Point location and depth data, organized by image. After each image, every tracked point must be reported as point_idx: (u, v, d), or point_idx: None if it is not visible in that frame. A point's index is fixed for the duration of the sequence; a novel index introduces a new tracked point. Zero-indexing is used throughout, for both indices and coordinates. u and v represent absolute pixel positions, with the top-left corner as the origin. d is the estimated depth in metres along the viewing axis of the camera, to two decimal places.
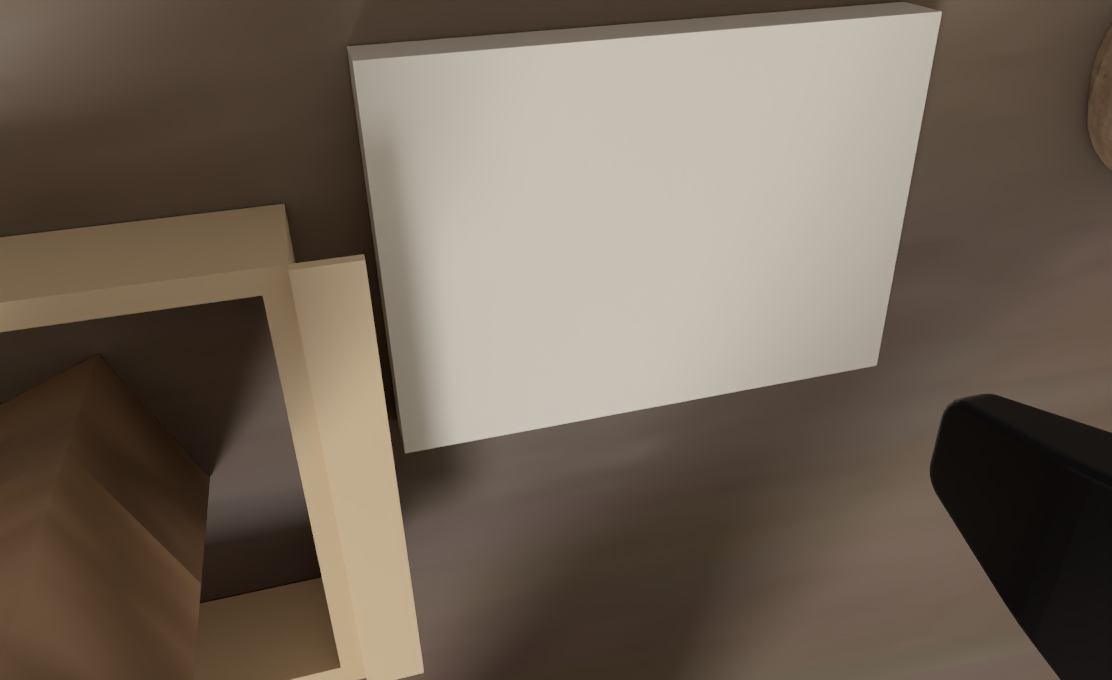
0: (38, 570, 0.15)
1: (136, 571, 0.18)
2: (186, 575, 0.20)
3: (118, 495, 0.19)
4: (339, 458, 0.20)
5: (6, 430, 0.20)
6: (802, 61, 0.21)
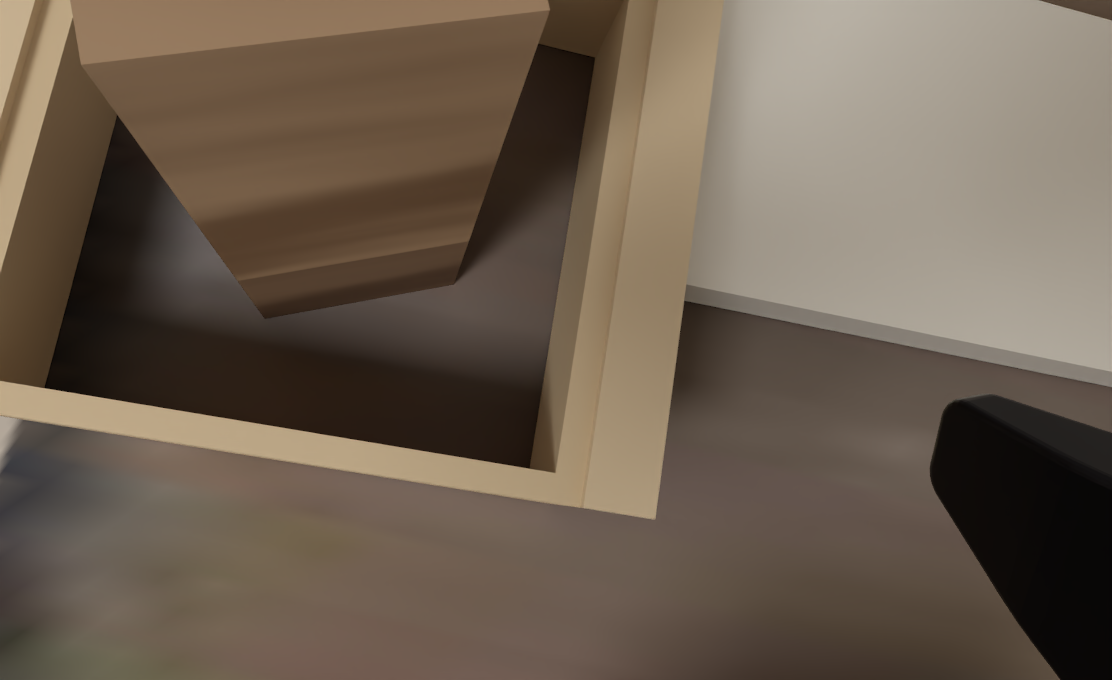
0: None
1: None
2: None
3: None
4: (649, 159, 0.19)
5: None
6: (1072, 38, 0.25)
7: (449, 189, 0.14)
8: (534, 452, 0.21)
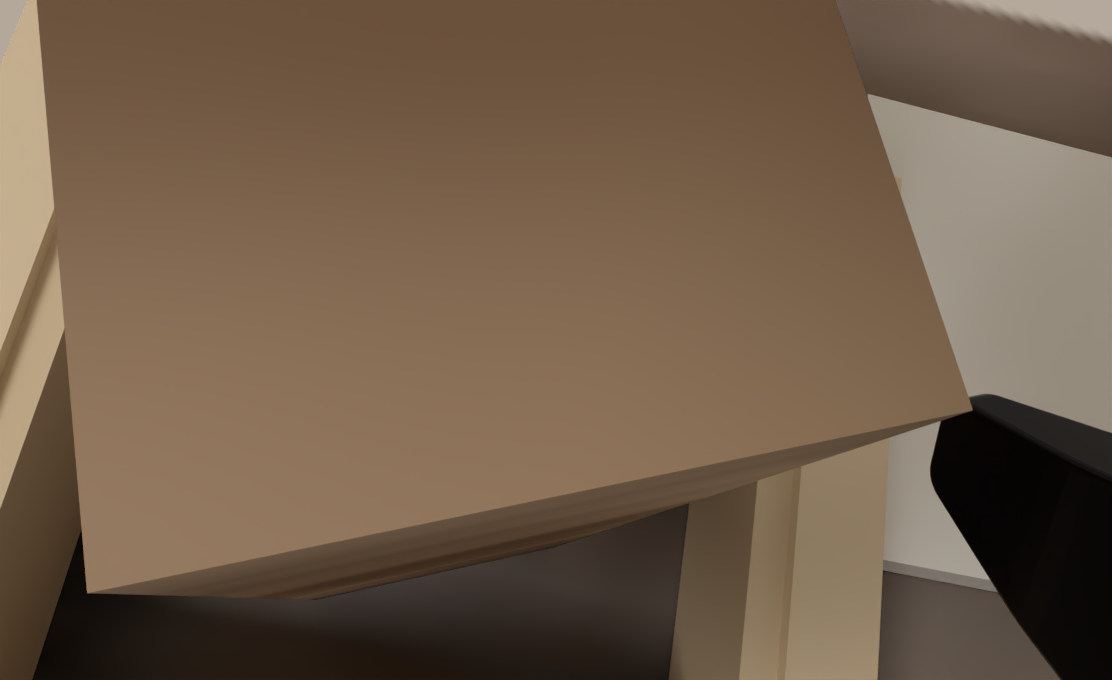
0: None
1: None
2: None
3: None
4: None
5: None
6: None
7: (617, 520, 0.10)
8: None
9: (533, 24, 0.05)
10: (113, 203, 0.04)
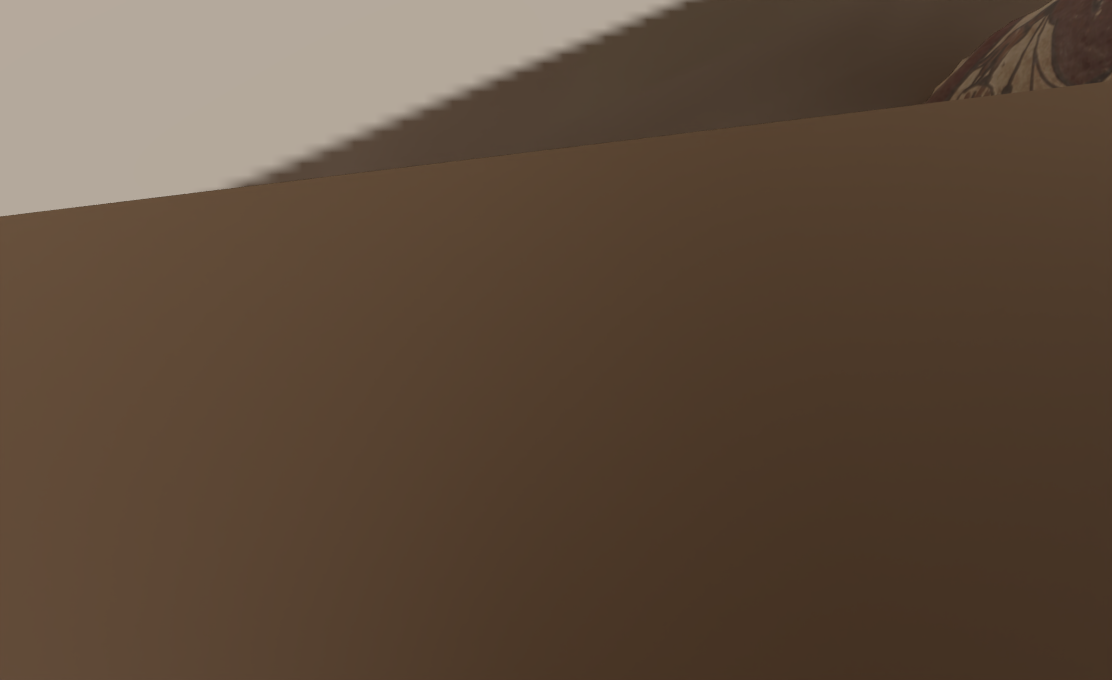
0: None
1: None
2: None
3: None
4: None
5: None
6: None
7: None
8: None
9: None
10: None
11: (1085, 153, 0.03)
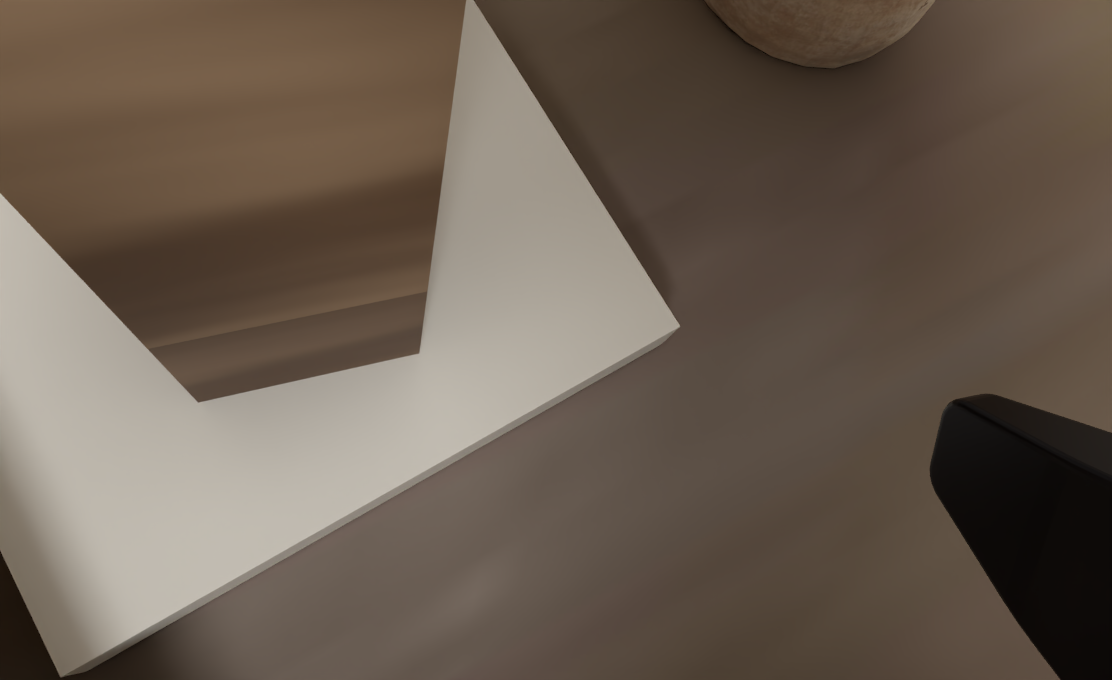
0: None
1: None
2: None
3: None
4: None
5: None
6: None
7: (388, 211, 0.12)
8: None
9: None
10: None
11: None
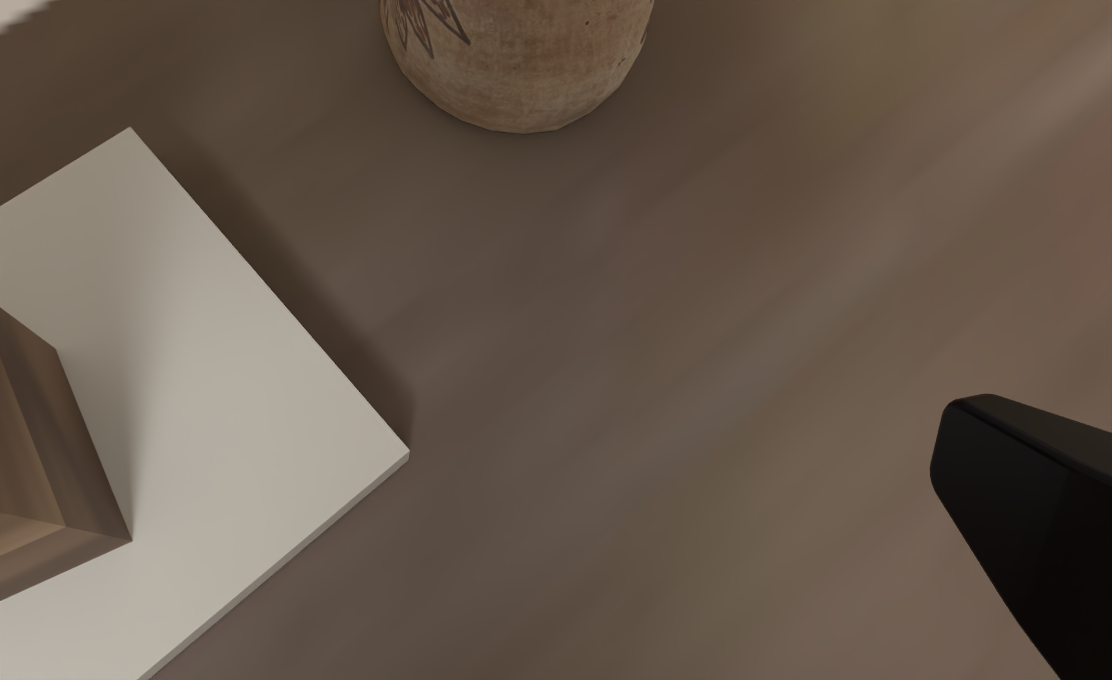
0: None
1: None
2: (50, 495, 0.14)
3: (8, 370, 0.15)
4: None
5: None
6: (9, 244, 0.19)
7: None
8: None
9: None
10: None
11: None
